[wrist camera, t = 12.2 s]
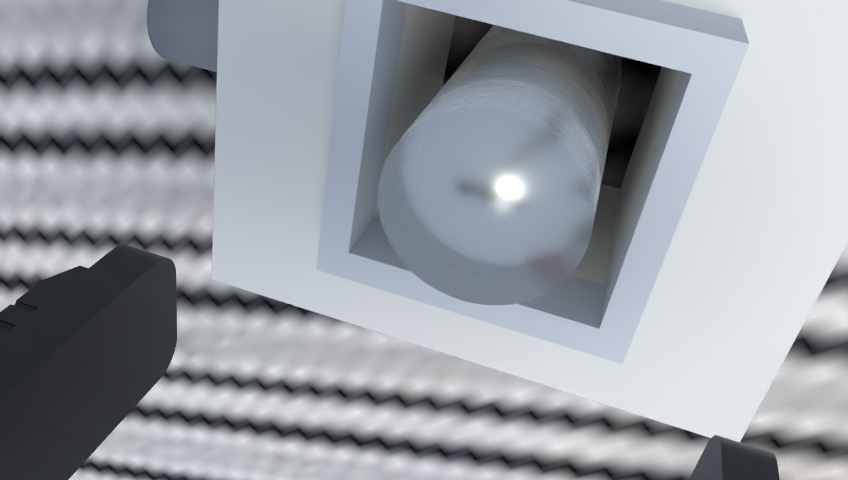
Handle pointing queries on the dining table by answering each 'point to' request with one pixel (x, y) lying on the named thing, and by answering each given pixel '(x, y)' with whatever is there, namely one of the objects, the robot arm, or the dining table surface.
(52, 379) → the robot arm
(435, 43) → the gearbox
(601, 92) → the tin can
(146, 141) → the dining table surface
